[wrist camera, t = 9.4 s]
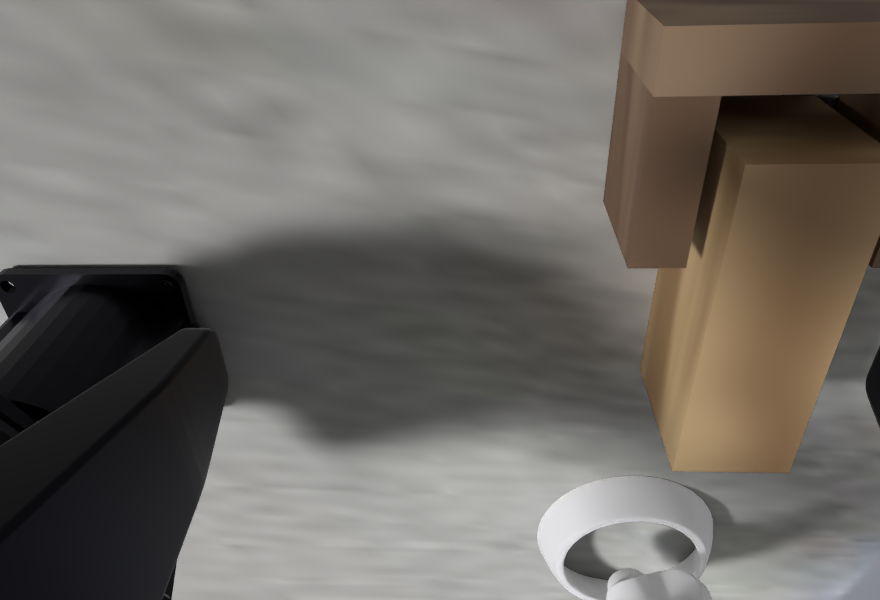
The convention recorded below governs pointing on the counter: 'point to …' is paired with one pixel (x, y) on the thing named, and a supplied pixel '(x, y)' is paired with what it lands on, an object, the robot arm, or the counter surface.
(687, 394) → the wooden block
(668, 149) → the slot block
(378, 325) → the counter surface
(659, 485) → the vr controller
